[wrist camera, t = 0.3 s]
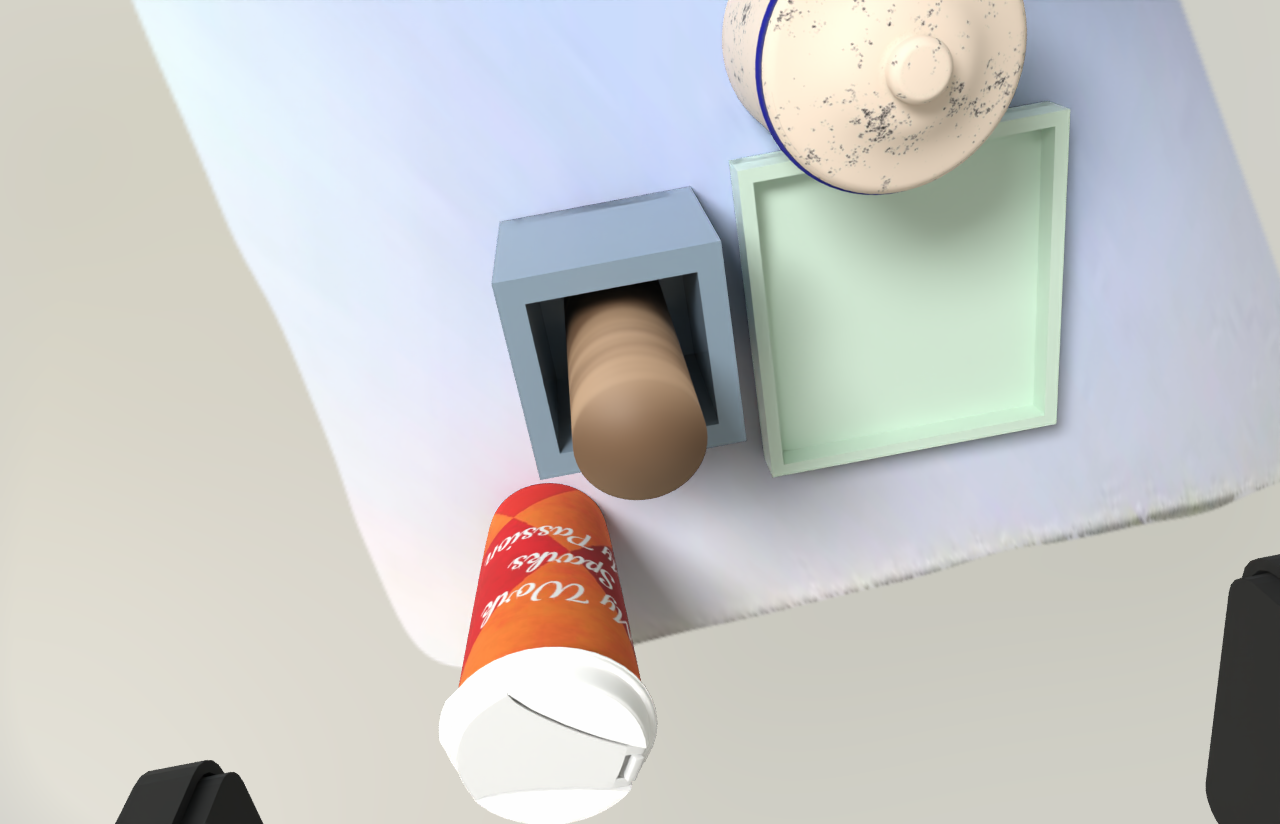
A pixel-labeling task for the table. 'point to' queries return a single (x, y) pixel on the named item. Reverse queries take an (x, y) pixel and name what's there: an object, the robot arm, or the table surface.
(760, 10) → the teacup with lid
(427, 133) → the table surface
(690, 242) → the deep square box
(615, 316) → the peg
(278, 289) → the table surface
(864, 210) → the tray
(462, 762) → the coffee cup
